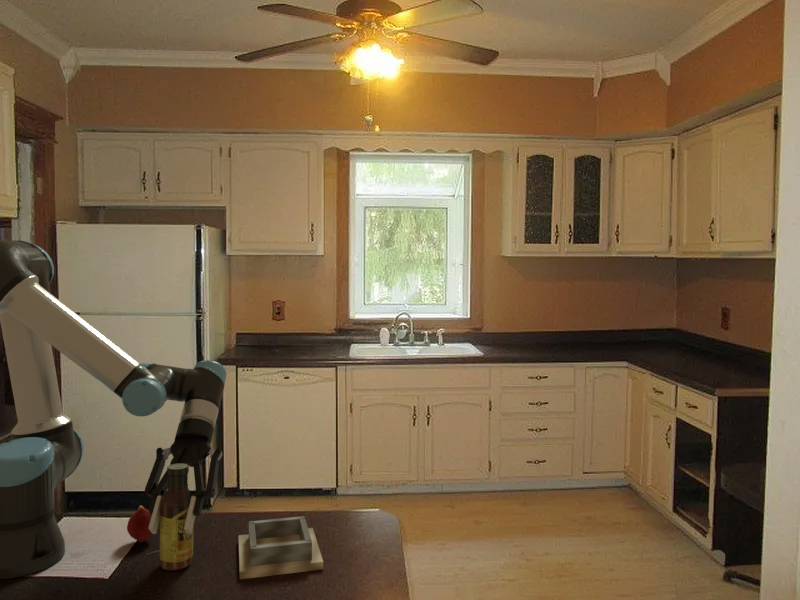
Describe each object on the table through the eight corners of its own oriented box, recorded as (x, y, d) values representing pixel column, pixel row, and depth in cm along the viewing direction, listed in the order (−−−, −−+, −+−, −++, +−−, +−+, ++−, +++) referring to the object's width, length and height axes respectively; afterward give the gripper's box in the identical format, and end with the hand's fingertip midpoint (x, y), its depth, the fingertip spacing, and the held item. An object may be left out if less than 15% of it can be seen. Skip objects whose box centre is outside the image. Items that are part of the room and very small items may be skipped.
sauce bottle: (182, 574, 117) (182, 473, 116) (153, 570, 118) (152, 470, 117) (199, 558, 123) (199, 462, 122) (172, 554, 125) (172, 460, 123)
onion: (157, 534, 134) (157, 499, 133) (155, 546, 128) (155, 509, 128) (128, 537, 132) (128, 502, 131) (125, 549, 126) (125, 512, 126)
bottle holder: (239, 579, 115) (239, 553, 115) (238, 542, 131) (238, 519, 130) (323, 569, 120) (323, 544, 119) (312, 534, 135) (312, 512, 135)
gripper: (243, 434, 135) (223, 539, 120) (158, 433, 135) (126, 538, 119) (237, 416, 129) (215, 524, 114) (148, 415, 129) (113, 523, 114)
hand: (170, 531), depth 117 cm, fingers closed on sauce bottle, 6 cm apart
